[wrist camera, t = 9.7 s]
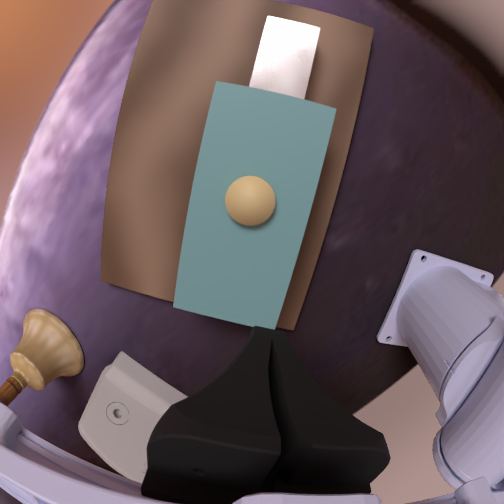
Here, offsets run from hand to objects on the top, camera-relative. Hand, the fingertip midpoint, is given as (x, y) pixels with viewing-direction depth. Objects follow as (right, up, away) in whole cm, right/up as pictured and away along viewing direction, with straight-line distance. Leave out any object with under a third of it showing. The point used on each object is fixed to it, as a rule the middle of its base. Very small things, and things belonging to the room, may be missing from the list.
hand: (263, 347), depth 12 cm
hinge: (-8, -13, +15) cm, 21 cm away
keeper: (-1, +7, +7) cm, 10 cm away
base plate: (-2, +10, +7) cm, 13 cm away
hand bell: (-21, -5, +13) cm, 26 cm away
